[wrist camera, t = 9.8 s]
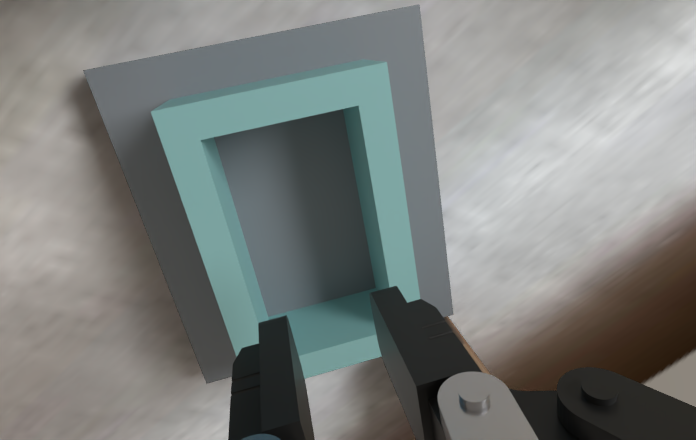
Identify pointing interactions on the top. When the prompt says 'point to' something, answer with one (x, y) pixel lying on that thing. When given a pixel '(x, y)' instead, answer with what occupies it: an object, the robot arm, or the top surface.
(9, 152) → the top surface
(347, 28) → the cradle jig
